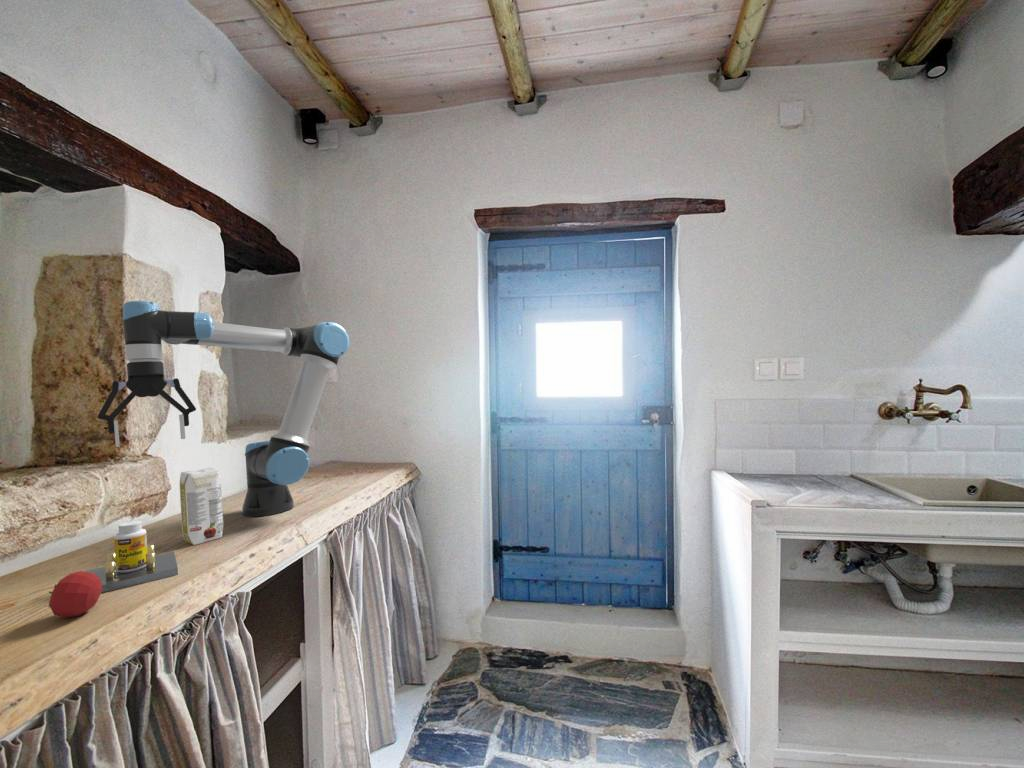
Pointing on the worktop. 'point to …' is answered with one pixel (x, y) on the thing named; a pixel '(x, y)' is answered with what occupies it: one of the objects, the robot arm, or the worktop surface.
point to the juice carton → (201, 505)
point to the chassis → (152, 571)
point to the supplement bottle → (130, 547)
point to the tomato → (75, 594)
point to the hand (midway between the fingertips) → (151, 442)
